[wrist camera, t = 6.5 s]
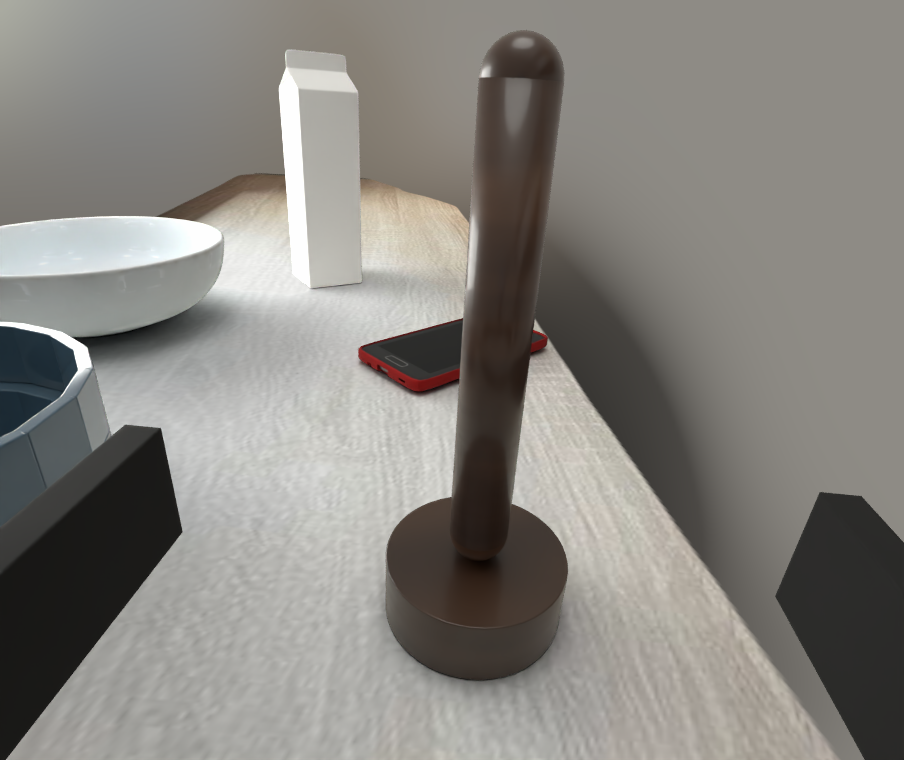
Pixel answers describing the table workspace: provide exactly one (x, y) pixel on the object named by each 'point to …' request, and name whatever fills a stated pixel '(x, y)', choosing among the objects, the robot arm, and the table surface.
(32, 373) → the mixing bowl
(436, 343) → the cell phone
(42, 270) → the serving bowl
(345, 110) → the milk
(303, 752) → the table surface
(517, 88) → the paper towel holder
